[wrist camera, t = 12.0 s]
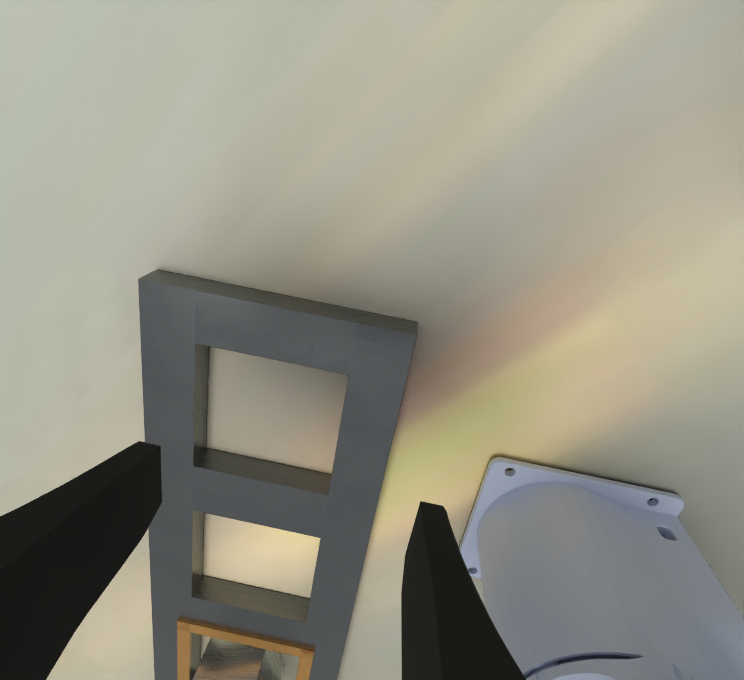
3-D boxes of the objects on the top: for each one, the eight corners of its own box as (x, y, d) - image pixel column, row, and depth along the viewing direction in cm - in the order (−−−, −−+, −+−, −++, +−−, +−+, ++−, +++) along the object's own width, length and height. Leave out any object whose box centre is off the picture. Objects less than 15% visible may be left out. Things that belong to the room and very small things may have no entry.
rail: (417, 322, 21) (416, 337, 19) (325, 720, 34) (320, 747, 33) (157, 269, 21) (135, 280, 20) (166, 683, 34) (154, 709, 33)
